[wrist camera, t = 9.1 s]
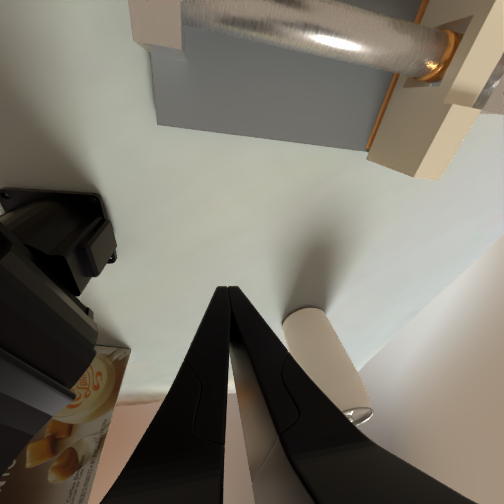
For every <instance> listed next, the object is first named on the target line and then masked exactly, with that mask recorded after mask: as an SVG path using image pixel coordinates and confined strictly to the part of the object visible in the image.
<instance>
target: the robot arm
mask: <svg viewBox="0 0 504 504" xmlns="http://www.w3.org/2000/svg"><path fill="white" fill-rule="evenodd" d="M5 193H6V194H8V195H9V196H10V197H8V196H6V195H5ZM91 198H94V199H96V201H97V202H94V201H92V199H91ZM0 203H1V205H2V207H3V209H4V210H5V213H3V214H2V215H0V478H1V477H2V475H3V474H4V473H5V471H6V470H7V469H8V468H9V466H10V465H11V464H12V462H13V461H14V460H15V459H16V457H17V456H18V455H19V453H20V452H21V451H22V450H23V448H24V447H25V446H26V445H27V444H28V442H29V441H30V440H31V439H32V438H33V436H34V435H35V434H36V433H37V432H38V431H39V430H40V429H41V428H42V427H43V426H44V425H45V424H46V423H47V422H48V421H49V420H50V419H51V418H52V417H53V416H54V415H56V414H57V413H58V412H60V411H61V410H62V409H63V408H65V407H66V406H67V405H68V404H70V403H71V402H72V401H73V400H74V399H75V398H76V393H74V392H73V391H71V389H72V388H73V387H74V386H75V385H76V384H77V382H78V381H79V380H80V378H81V377H82V376H83V375H84V373H85V372H86V371H87V369H88V368H89V367H90V365H91V363H92V361H93V360H94V358H95V356H96V353H97V351H96V349H94V347H95V344H96V340H97V335H98V331H97V327H96V323H95V322H94V321H93V311H92V310H91V309H90V308H89V307H85V306H84V305H83V304H82V303H81V302H80V301H79V300H78V299H77V298H76V297H75V296H80V295H81V293H82V292H83V290H84V289H85V287H86V286H87V284H88V282H89V281H90V279H91V278H92V277H97V276H99V275H100V273H101V272H102V270H103V268H104V267H105V265H106V264H111V263H114V262H115V261H116V259H117V254H116V251H115V249H116V247H117V244H116V240H115V236H114V232H113V228H112V224H111V221H110V220H108V219H107V216H106V212H105V208H104V204H103V200H102V198H101V197H100V196H99V195H98V194H96V193H87V192H71V191H55V190H39V189H23V188H7V187H6V188H1V189H0ZM110 257H111V258H112V259H110ZM229 352H230V358H231V364H232V370H233V376H234V382H235V387H236V393H237V398H238V405H239V411H240V417H241V422H242V429H243V434H244V440H245V446H246V452H247V458H248V464H249V470H250V476H251V481H252V483H253V484H252V488H253V493H254V499H255V504H478V503H475V502H474V501H472V500H470V499H468V498H466V497H464V496H463V495H461V494H460V493H458V492H456V491H454V490H453V489H451V488H449V487H448V486H446V485H444V484H443V483H441V482H439V481H438V480H436V479H434V478H433V477H431V476H429V475H428V474H426V473H424V472H422V471H421V470H419V469H417V468H416V467H414V466H412V465H411V464H409V463H407V462H406V461H404V460H402V459H401V458H399V457H397V456H396V455H394V454H392V453H390V452H389V451H387V450H385V449H384V448H382V447H381V446H379V445H377V444H376V443H374V442H373V441H372V440H371V439H369V438H368V437H367V436H366V435H364V434H363V433H362V432H361V431H360V430H359V429H358V428H357V427H356V426H355V425H354V424H353V423H352V422H351V421H350V420H349V419H348V418H347V417H346V416H345V415H344V414H343V413H342V411H341V410H340V409H339V408H338V407H337V406H336V405H335V404H334V403H333V402H332V401H331V400H330V399H329V398H328V397H327V396H326V395H325V393H324V392H323V391H322V390H321V389H320V388H319V387H318V386H317V385H316V384H315V383H314V382H313V380H312V379H311V378H310V377H309V376H308V375H307V374H306V373H305V371H304V370H303V369H302V368H301V366H300V365H299V364H298V363H297V362H296V360H295V359H294V358H293V356H292V355H291V354H290V353H289V352H288V350H287V349H286V347H285V346H284V345H283V344H282V342H281V341H280V340H279V338H278V337H277V336H276V334H275V333H274V332H273V331H272V329H271V328H270V327H269V325H268V324H267V323H266V322H265V320H264V319H263V318H262V316H261V315H260V314H259V312H258V311H257V310H256V309H255V307H254V306H253V305H252V303H251V302H250V301H249V300H248V298H247V297H246V296H245V294H244V293H243V292H242V291H241V289H240V288H239V287H238V286H229V287H228V288H227V286H218V287H217V288H216V290H215V292H214V294H213V296H212V299H211V301H210V303H209V305H208V308H207V310H206V312H205V314H204V316H203V319H202V321H201V323H200V325H199V328H198V330H197V332H196V334H195V336H194V339H193V341H192V343H191V345H190V348H189V350H188V352H187V354H186V356H185V359H184V362H183V363H182V365H181V367H180V369H179V372H178V374H177V376H176V378H175V380H174V382H173V384H172V386H171V388H170V390H169V392H168V394H167V395H166V397H165V399H164V401H163V403H162V405H161V406H160V408H159V410H158V412H157V413H156V415H155V417H154V419H153V420H152V422H151V423H150V425H149V427H148V428H147V430H146V432H145V433H144V435H143V437H142V439H141V440H140V442H139V444H138V445H137V447H136V449H135V450H134V452H133V454H132V455H131V457H130V459H129V461H128V462H127V464H126V465H125V467H124V468H123V470H122V472H121V473H120V475H119V476H118V478H117V479H116V481H115V483H114V484H113V486H112V487H111V488H110V490H109V491H108V493H107V494H106V495H105V497H104V498H103V500H102V501H101V502H100V504H223V481H224V480H223V479H224V453H225V447H224V446H225V431H226V410H227V390H228V369H229Z"/></svg>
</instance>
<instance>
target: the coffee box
mask: <svg viewBox="0 0 504 504" xmlns="http://www.w3.org/2000/svg"><path fill="white" fill-rule="evenodd" d="M94 349H96V351H97V353H96V356H95V358H94V360H93V361H92V363H91V365H90V367H89V368H88V369H87V371H86V372H85V373H84V375H83V376H82V377H81V378H80V380H79V381H78V382H77V384H76V385H75V386H74V387H73V388H72V389H71V391H73V392H74V393H76V398H75V399H74V400H73V401H72V402H71V403H70V404H68V405H67V406H66V407H65V408H63V409H62V410H61V411H60V412H58V413H57V414H56V415H54V416H53V417H52V418H51V419H50V420H49V421H48V422H47V423H46V424H45V425H44V426H43V427H42V428H41V429H40V430H39V431H38V432H37V433H36V434H35V435H34V436H33V438H32V439H31V440H30V441H29V442H28V444H27V445H26V446H25V447H24V448H23V450H22V451H21V452H20V453H19V455H18V456H17V457H16V459H15V460H14V461H13V462H12V464H11V465H10V466H9V468H8V469H7V470H6V471H5V473H4V474H3V475H2V477H1V478H0V504H88V500H89V496H90V493H91V490H92V486H93V483H94V479H95V476H96V472H97V469H98V465H99V462H100V458H101V455H102V451H103V448H104V444H105V441H106V437H107V434H108V431H109V427H110V424H111V420H112V417H113V413H114V410H115V406H116V403H117V399H118V396H119V392H120V389H121V386H122V382H123V378H124V374H125V371H126V367H127V364H128V360H129V357H130V353H131V349H125V348H116V347H106V346H96V345H95V347H94Z"/></svg>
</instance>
